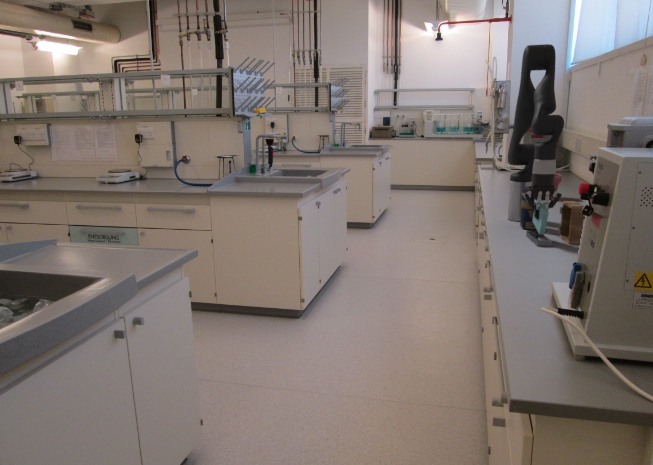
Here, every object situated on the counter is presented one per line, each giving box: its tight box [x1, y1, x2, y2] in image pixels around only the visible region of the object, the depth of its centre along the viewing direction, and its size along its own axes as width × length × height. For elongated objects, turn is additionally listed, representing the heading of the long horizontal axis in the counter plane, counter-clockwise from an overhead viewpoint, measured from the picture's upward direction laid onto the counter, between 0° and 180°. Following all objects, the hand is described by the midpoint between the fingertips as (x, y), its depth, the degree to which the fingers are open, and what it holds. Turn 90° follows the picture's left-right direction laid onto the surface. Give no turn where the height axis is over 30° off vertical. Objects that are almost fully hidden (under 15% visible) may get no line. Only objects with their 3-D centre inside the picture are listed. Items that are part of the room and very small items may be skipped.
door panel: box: [532, 200, 550, 235], centre depth 180 cm, size 10×2×9 cm, turn 174°
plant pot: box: [549, 173, 562, 200], centre depth 267 cm, size 14×14×13 cm
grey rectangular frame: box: [525, 230, 553, 247], centre depth 182 cm, size 15×5×2 cm, turn 173°
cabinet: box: [557, 200, 585, 245], centre depth 181 cm, size 10×5×14 cm, turn 173°
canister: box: [519, 186, 543, 231], centre depth 200 cm, size 10×10×18 cm
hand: (540, 219), depth 180 cm, fingers closed on door panel, 1 cm apart
